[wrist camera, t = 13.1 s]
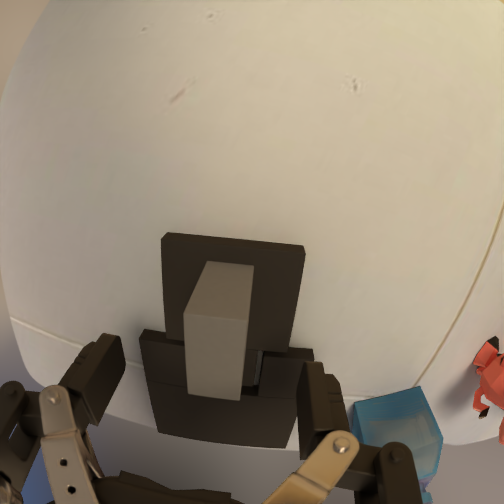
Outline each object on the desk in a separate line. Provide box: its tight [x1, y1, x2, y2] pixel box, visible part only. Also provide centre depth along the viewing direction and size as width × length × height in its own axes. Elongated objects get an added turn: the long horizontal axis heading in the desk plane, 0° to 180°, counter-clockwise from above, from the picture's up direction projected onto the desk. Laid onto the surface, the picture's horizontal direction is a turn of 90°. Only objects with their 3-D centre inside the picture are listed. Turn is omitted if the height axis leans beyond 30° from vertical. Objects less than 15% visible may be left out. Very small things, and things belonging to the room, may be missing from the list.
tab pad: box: [161, 232, 306, 401], centre depth 16 cm, size 8×11×6 cm
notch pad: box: [139, 329, 314, 449], centre depth 22 cm, size 12×12×1 cm
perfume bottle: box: [352, 386, 443, 504], centre depth 17 cm, size 6×6×12 cm
